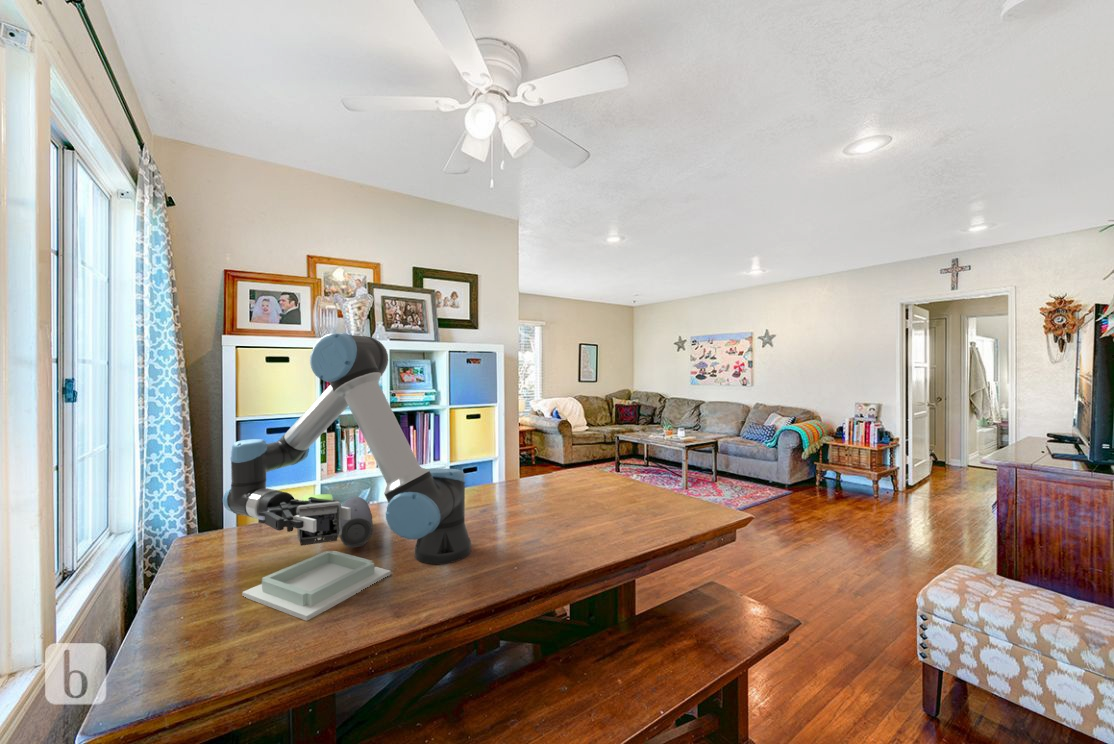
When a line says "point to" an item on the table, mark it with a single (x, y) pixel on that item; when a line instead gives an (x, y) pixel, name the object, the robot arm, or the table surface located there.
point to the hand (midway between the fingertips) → (332, 519)
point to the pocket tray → (316, 584)
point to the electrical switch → (321, 522)
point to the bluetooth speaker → (357, 523)
